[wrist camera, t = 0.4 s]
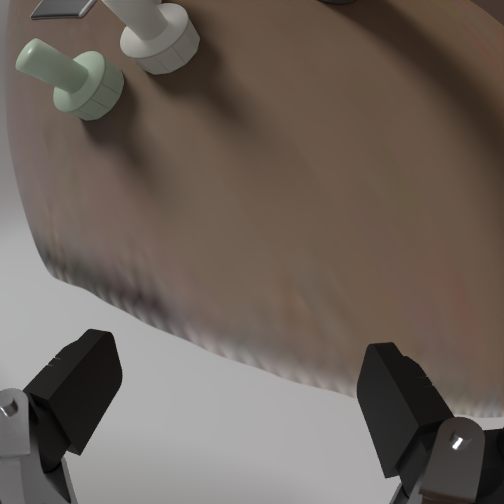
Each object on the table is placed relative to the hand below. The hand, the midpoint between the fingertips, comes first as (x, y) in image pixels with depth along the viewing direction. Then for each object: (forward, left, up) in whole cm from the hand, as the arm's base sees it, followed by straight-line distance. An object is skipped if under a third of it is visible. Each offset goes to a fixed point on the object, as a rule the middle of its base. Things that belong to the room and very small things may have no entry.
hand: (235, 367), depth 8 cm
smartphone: (-54, -52, -28) cm, 80 cm away
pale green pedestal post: (-22, -30, -27) cm, 46 cm away
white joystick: (-29, -19, -27) cm, 44 cm away
